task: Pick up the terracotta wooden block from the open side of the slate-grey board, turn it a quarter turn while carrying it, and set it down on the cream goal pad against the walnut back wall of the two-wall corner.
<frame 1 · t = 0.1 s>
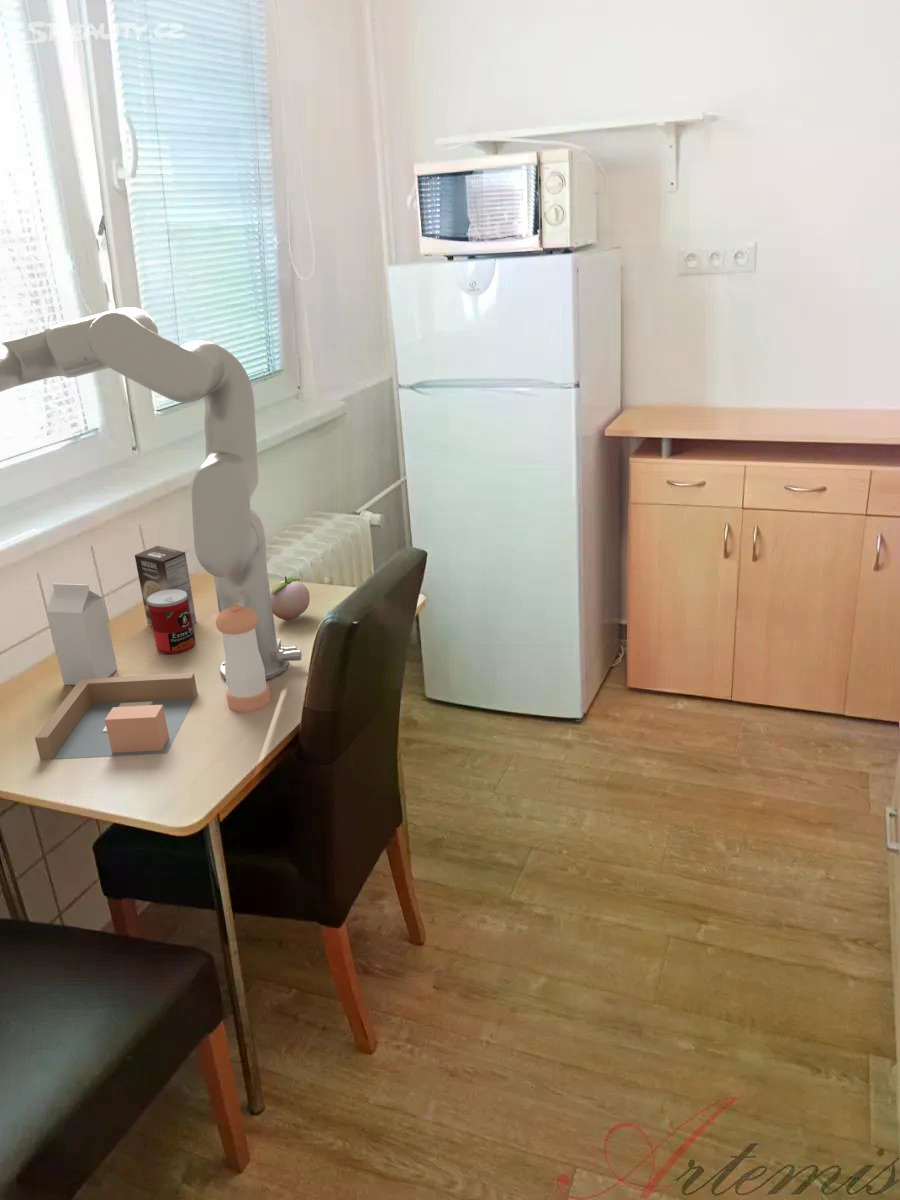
canned food: (176, 647, 185), on the table
terracotta block: (140, 744, 147), point 1 cm above the table, touching arena board
arena board: (124, 730, 154), on the table
coffee box: (172, 624, 196), on the table
milk carton: (91, 678, 174), on the table
decorative fruit: (292, 621, 194), on the table
pepper shaker: (250, 708, 160), on the table
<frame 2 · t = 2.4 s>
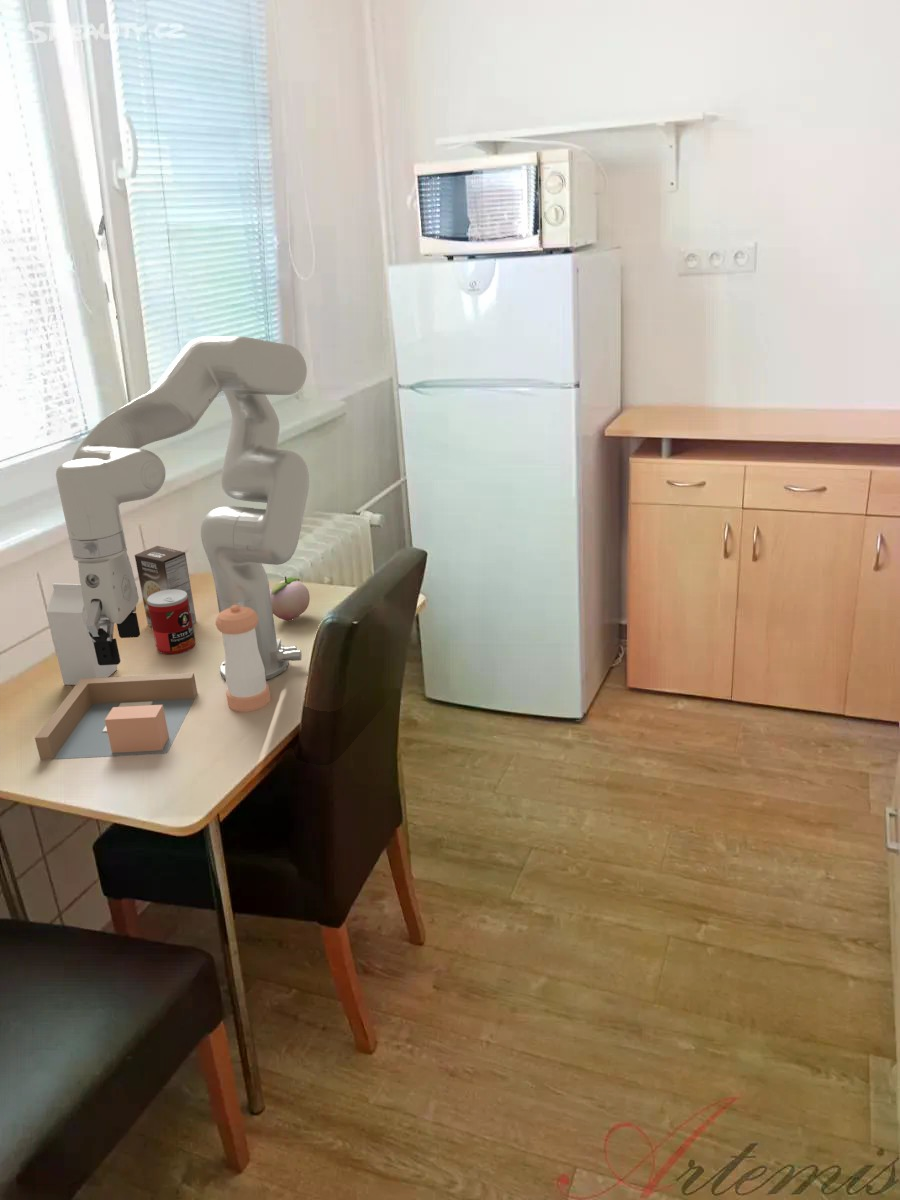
hand: (120, 650, 141), 18 cm above the table, tool pointing down, fingers open, 9 cm apart
nothing on the table moved.
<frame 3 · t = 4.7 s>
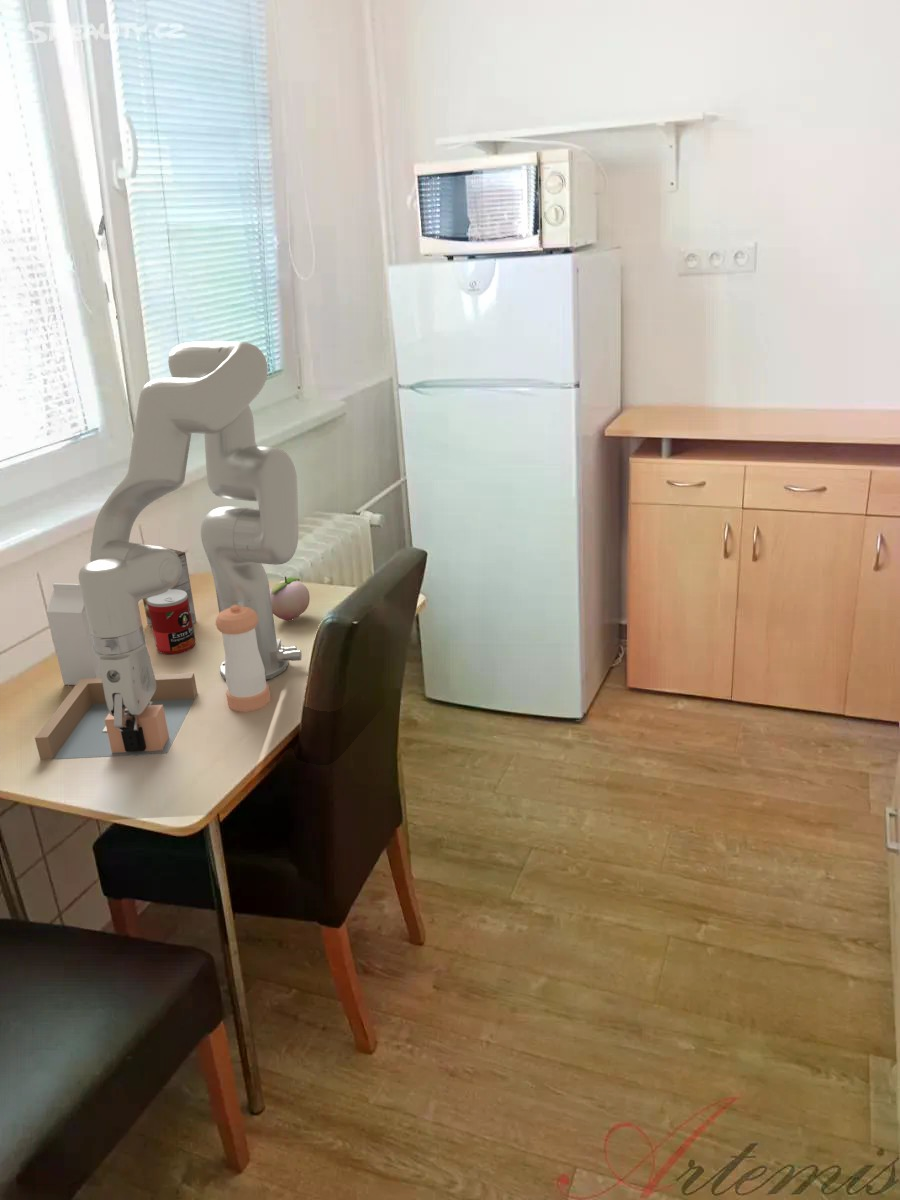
hand: (140, 741, 147), 2 cm above the table, tool pointing down, fingers closed on terracotta block, 4 cm apart
terracotta block: (140, 744, 147), point 1 cm above the table, touching arena board, gripper
everything else where it was.
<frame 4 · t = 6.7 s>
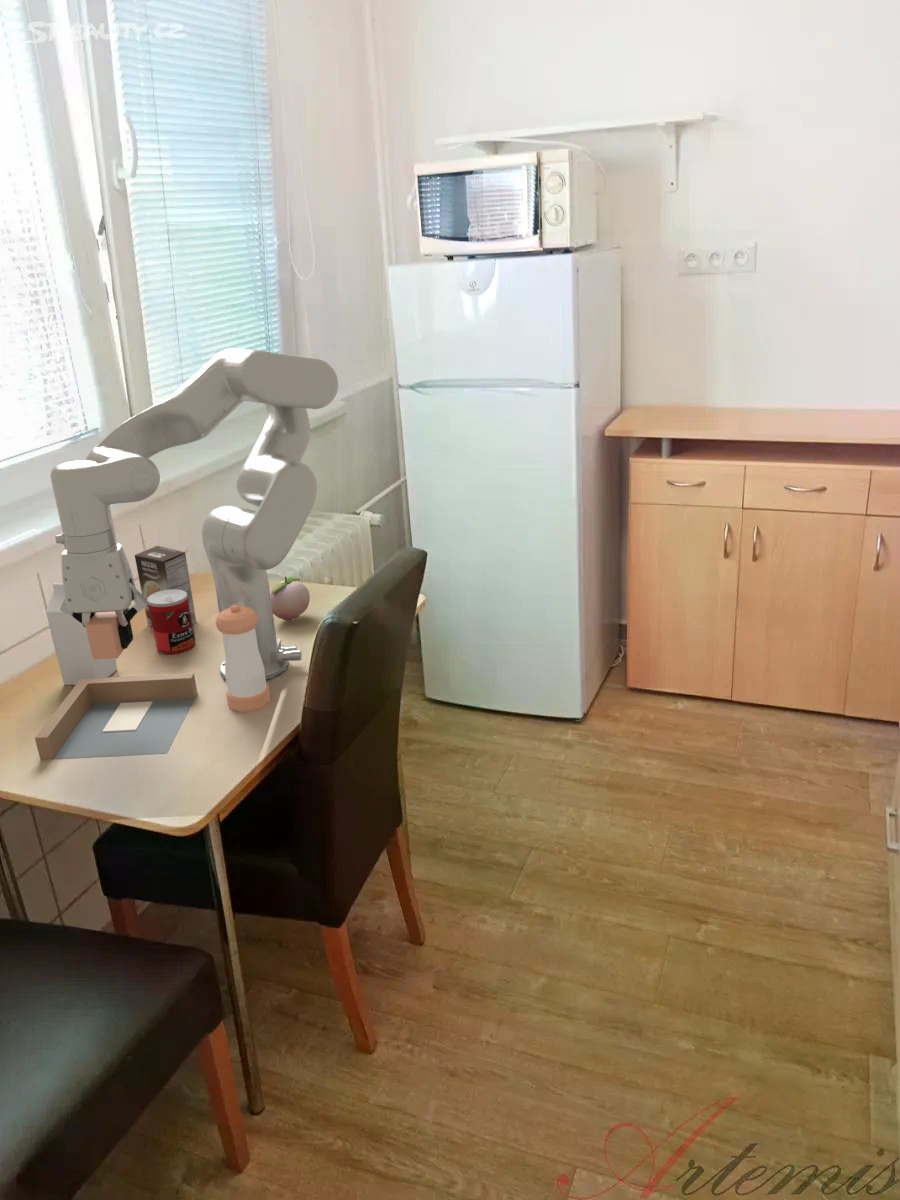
hand: (112, 645, 151), 15 cm above the table, tool pointing down, fingers closed on terracotta block, 4 cm apart
terracotta block: (113, 648, 151), point 14 cm above the table, touching gripper
everything else where it was.
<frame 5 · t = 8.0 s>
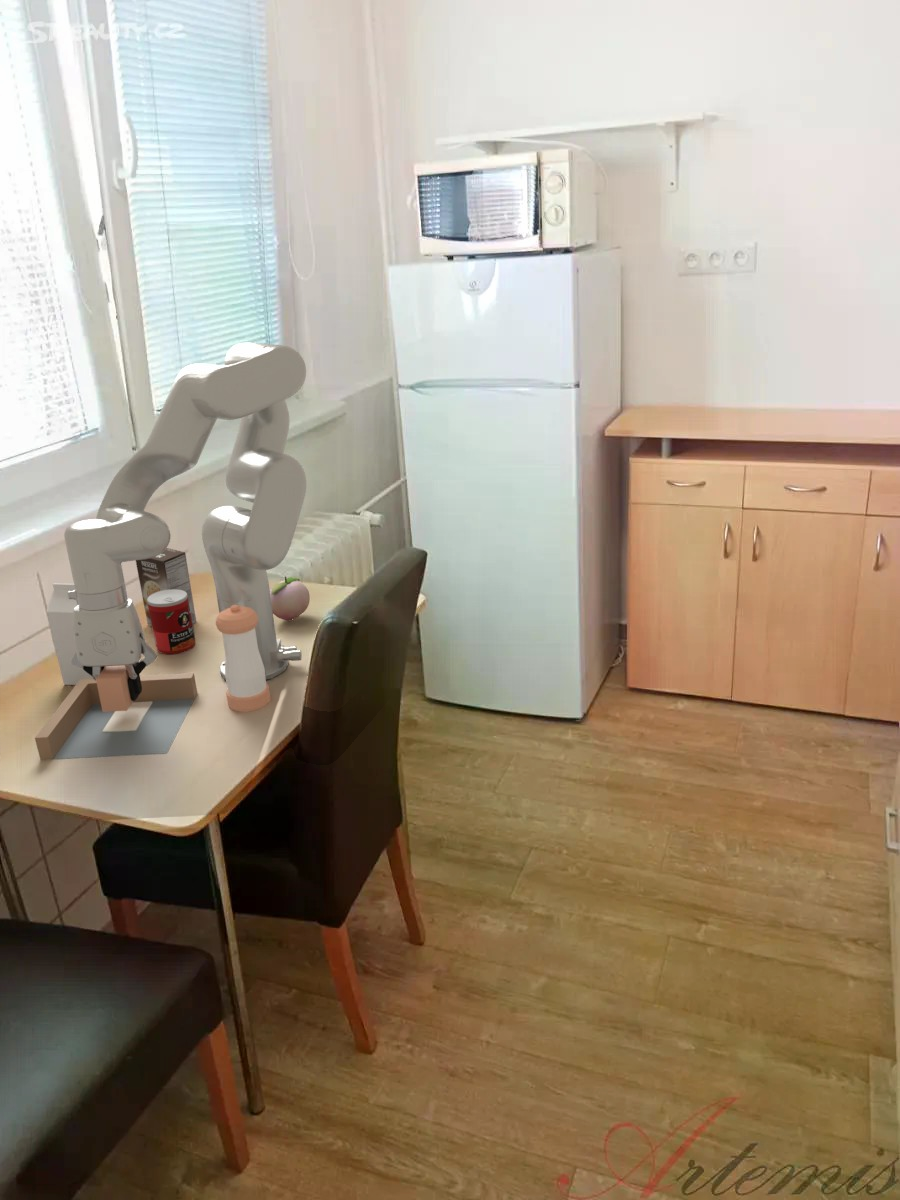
hand: (121, 696, 154), 5 cm above the table, tool pointing down, fingers closed on terracotta block, 4 cm apart
terracotta block: (122, 699, 155), point 5 cm above the table, touching gripper
everything else where it was.
when the fingers open (4 cm above the table, at t = 8.9 s): terracotta block drops 2 cm, resting on arena board.
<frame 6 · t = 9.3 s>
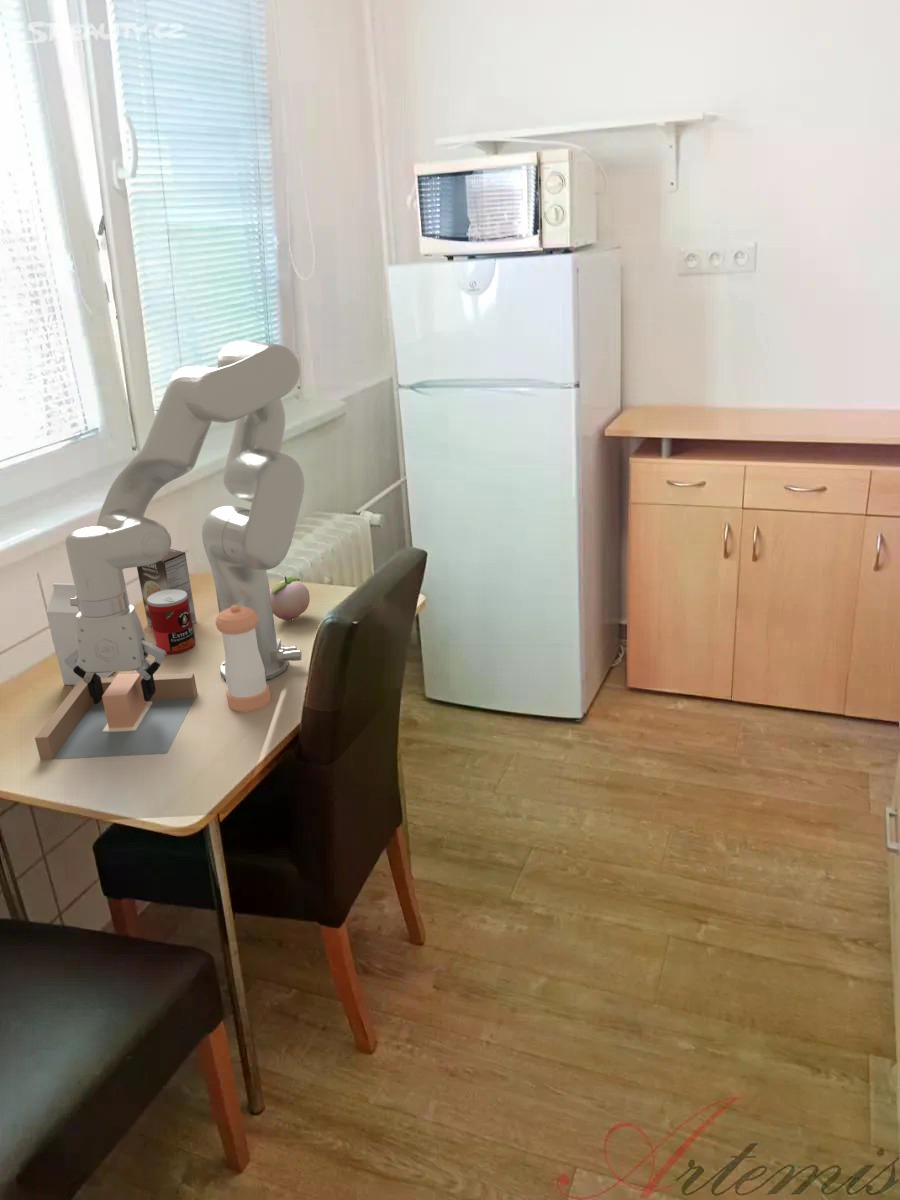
hand: (124, 698, 155), 5 cm above the table, tool pointing down, fingers open, 8 cm apart
terracotta block: (128, 715, 156), point 1 cm above the table, touching arena board
everything else where it was.
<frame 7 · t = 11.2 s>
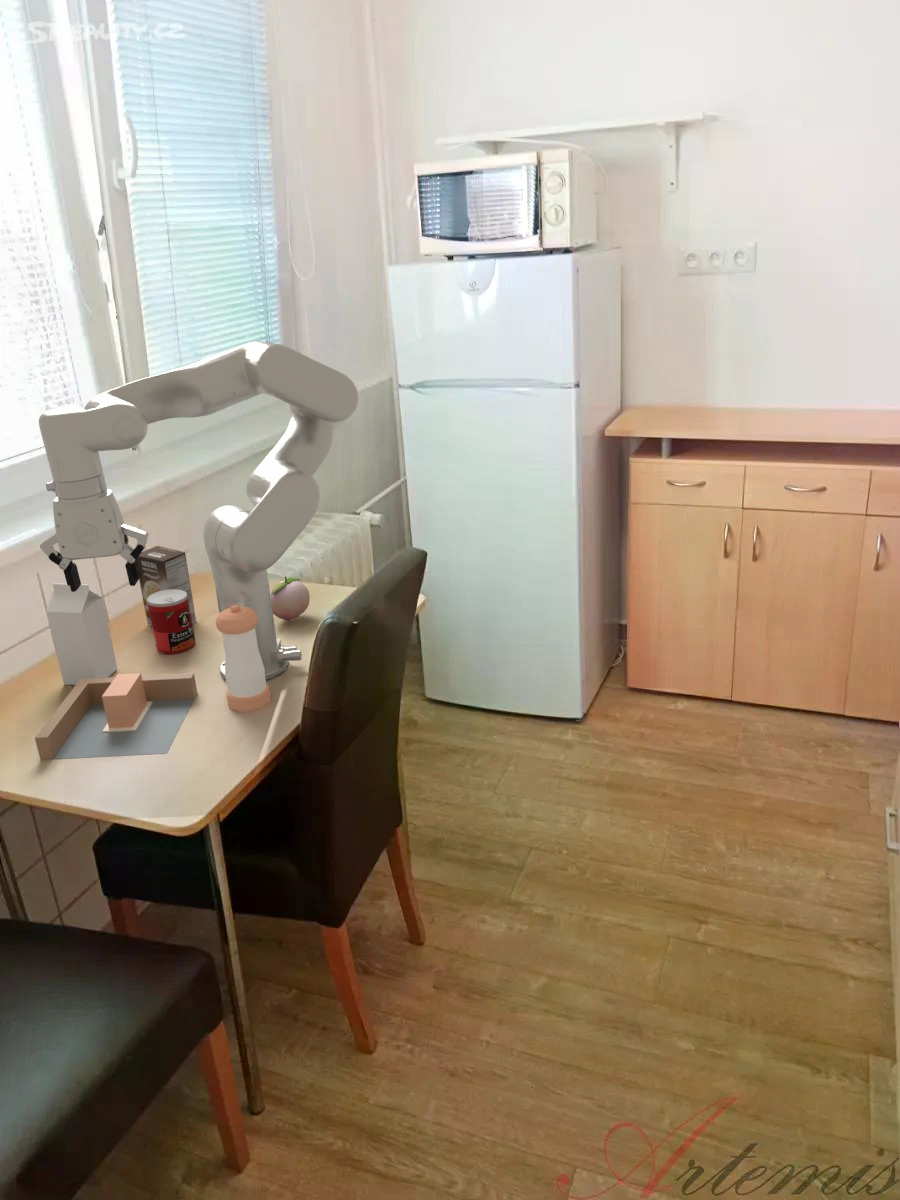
hand: (105, 585, 153), 23 cm above the table, tool pointing down, fingers open, 9 cm apart
nothing on the table moved.
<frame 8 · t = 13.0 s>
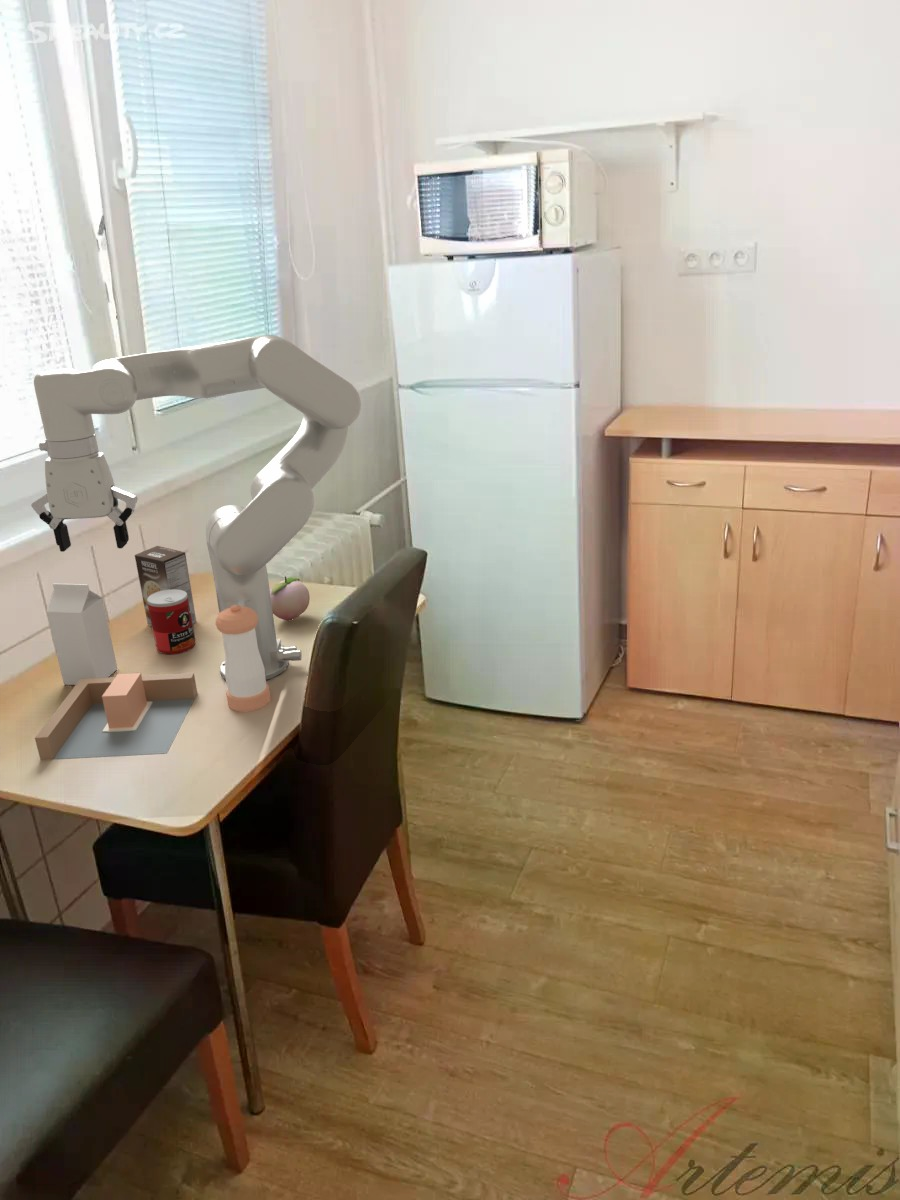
hand: (94, 547, 156), 28 cm above the table, tool pointing down, fingers open, 9 cm apart
nothing on the table moved.
at the end: terracotta block 0.1 cm from the target spot, point 1.4 cm above the table; terracotta block tilted 0°; the gripper is holding nothing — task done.
